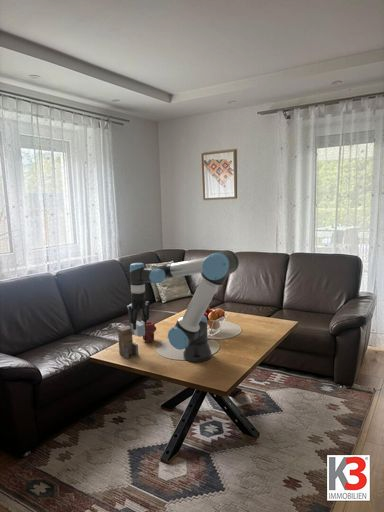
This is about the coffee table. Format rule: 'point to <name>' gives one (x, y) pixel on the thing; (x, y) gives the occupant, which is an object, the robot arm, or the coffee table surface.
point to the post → (126, 342)
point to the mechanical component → (149, 331)
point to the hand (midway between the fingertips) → (139, 333)
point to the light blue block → (140, 328)
